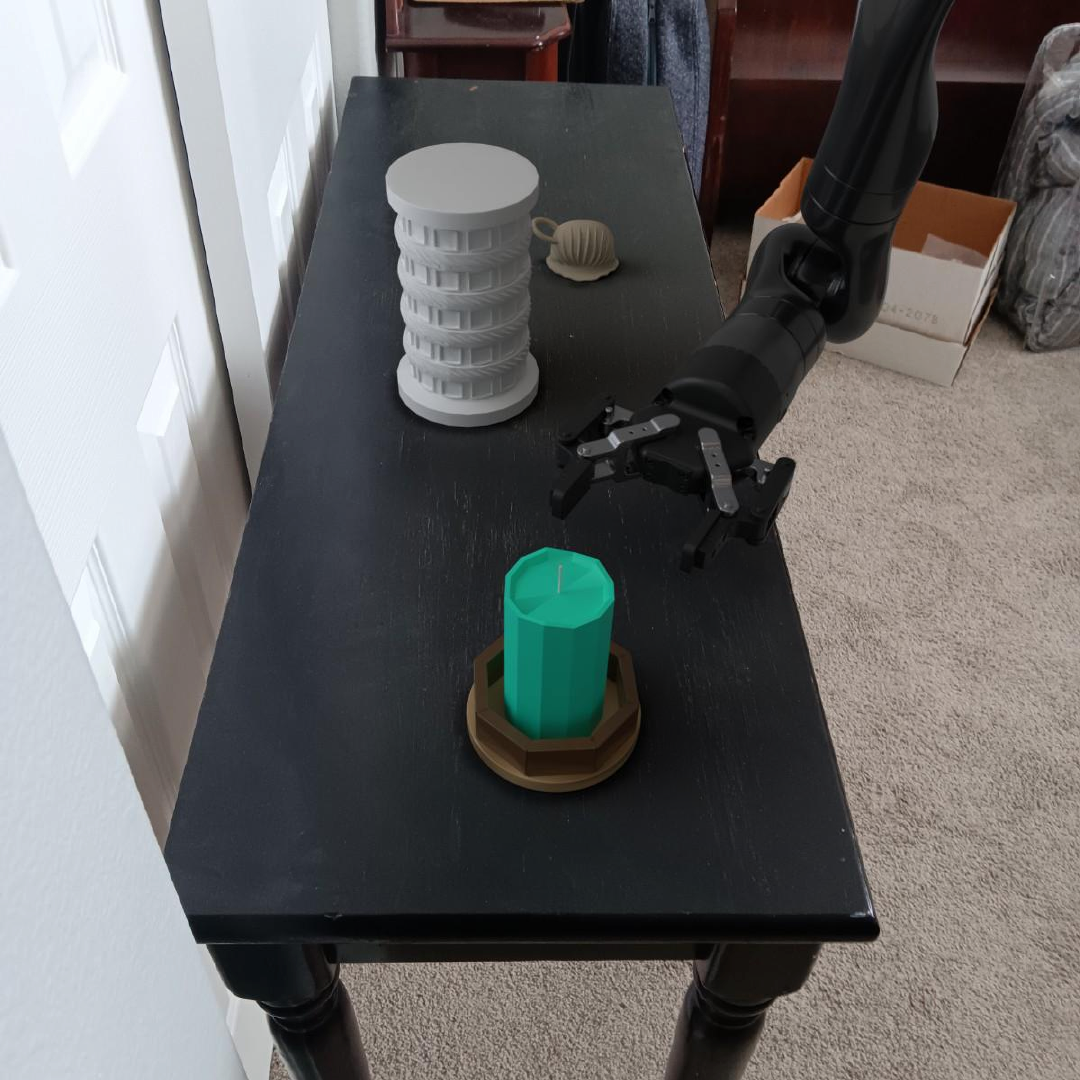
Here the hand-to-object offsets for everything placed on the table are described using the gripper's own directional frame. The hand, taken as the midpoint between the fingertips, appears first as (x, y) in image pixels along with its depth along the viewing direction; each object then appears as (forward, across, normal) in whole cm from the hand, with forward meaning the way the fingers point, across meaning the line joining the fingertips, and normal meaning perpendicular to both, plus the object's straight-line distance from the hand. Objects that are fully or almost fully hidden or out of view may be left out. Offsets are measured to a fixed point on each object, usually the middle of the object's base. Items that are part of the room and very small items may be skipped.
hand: (620, 534), depth 63 cm
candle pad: (+7, 0, +10) cm, 12 cm away
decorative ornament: (-39, -24, +10) cm, 47 cm away
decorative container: (-18, -23, +10) cm, 31 cm away
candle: (+7, 0, +9) cm, 11 cm away
